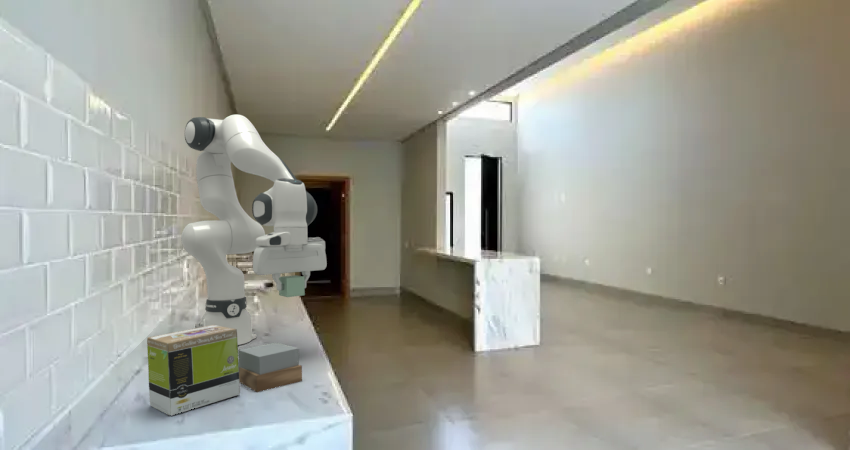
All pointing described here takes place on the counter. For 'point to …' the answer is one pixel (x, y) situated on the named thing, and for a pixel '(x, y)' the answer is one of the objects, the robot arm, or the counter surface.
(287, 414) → the counter surface
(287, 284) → the sage cube
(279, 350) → the slate slab
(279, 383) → the walnut slab
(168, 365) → the tea box
